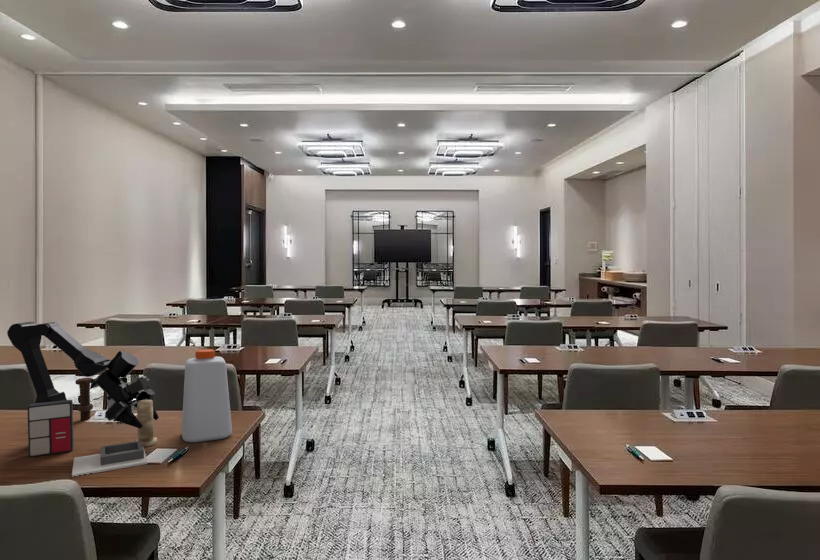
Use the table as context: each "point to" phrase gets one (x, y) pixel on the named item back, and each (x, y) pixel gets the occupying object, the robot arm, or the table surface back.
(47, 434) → the calculator
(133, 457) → the collar board
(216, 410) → the plastic bottle
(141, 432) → the peg
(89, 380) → the bolt
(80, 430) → the table surface
